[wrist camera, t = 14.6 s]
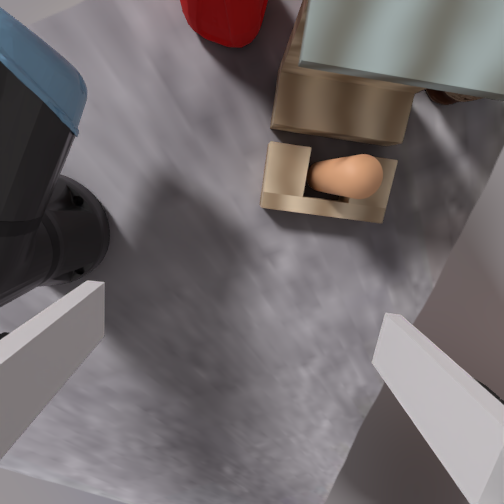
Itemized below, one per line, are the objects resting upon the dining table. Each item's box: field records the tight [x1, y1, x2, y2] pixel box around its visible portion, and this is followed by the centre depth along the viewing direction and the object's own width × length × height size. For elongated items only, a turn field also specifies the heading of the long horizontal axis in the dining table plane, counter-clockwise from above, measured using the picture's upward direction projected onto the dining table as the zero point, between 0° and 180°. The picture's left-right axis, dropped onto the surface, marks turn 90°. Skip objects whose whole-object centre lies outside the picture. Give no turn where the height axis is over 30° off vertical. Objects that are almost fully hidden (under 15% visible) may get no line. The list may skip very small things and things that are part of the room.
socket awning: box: [260, 0, 504, 224], centre depth 30 cm, size 16×17×19 cm
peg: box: [306, 154, 383, 199], centre depth 33 cm, size 4×4×14 cm
